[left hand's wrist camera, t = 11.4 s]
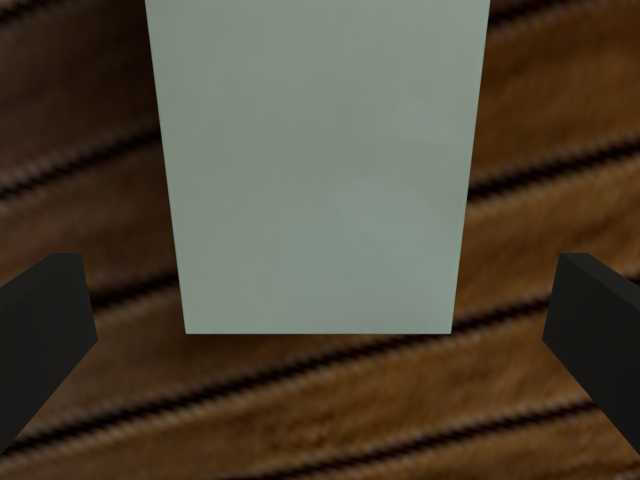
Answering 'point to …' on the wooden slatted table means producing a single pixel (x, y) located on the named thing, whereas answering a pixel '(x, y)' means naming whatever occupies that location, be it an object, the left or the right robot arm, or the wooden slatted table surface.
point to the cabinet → (317, 159)
